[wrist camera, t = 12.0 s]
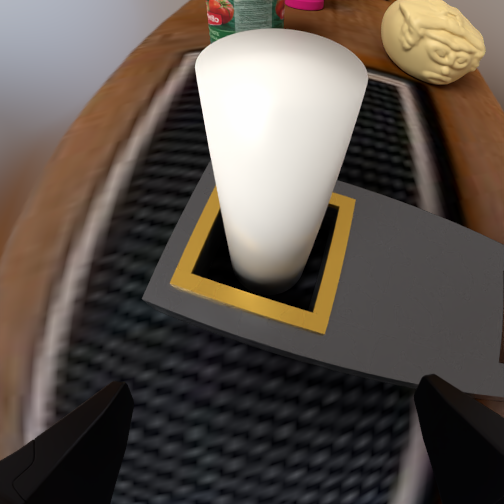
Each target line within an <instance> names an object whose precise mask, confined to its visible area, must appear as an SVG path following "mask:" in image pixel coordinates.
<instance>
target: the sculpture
mask: <svg viewBox="0 0 504 504" xmlns="http://www.w3.org/2000/svg"><path fill="white" fill-rule="evenodd" d="M381 36H382V42H383V46H384V48H385V51H386V52H387V54H388V56H389V57H390V58H391V59H392V61H393V62H394V63H395V64H396V65H397V66H398V67H399V68H401V69H402V70H403V71H405V72H406V73H408V74H409V75H411V76H413V77H415V78H417V79H419V80H422V81H424V82H427V83H431V84H436V85H443V84H449V83H452V82H454V81H456V80H458V79H459V78H461V77H462V76H464V75H465V74H466V73H468V72H471V71H475V70H476V67H478V66H479V61H480V60H481V59H482V57H483V56H484V54H485V51H486V50H485V46H484V41H483V37H482V35H481V34H480V32H479V31H478V30H477V29H476V28H474V27H473V26H472V24H471V23H470V22H469V20H468V19H467V18H465V17H464V16H463V15H462V14H461V12H460V11H459V10H458V9H457V8H455V7H451V6H449V5H448V4H446V3H445V2H444V1H442V0H397V1H395V2H394V3H393V4H392V5H391V6H390V7H389V8H388V9H387V11H386V13H385V15H384V17H383V20H382V25H381Z"/></svg>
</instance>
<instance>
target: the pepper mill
mask: <svg viewBox="0 0 504 504" xmlns="http://www.w3.org/2000/svg"><path fill="white" fill-rule="evenodd" d="M285 4H286V5H287V6H289V7H292V8H296V9H301V10H321V9H322V8H323V6H324V0H285Z"/></svg>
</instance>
